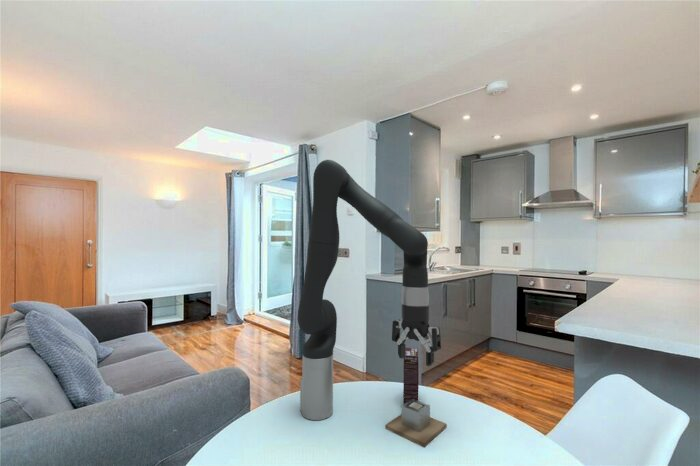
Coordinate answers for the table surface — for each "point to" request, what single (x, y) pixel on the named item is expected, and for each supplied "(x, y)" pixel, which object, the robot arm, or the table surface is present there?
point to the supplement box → (411, 375)
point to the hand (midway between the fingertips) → (415, 361)
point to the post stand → (414, 436)
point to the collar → (415, 416)
